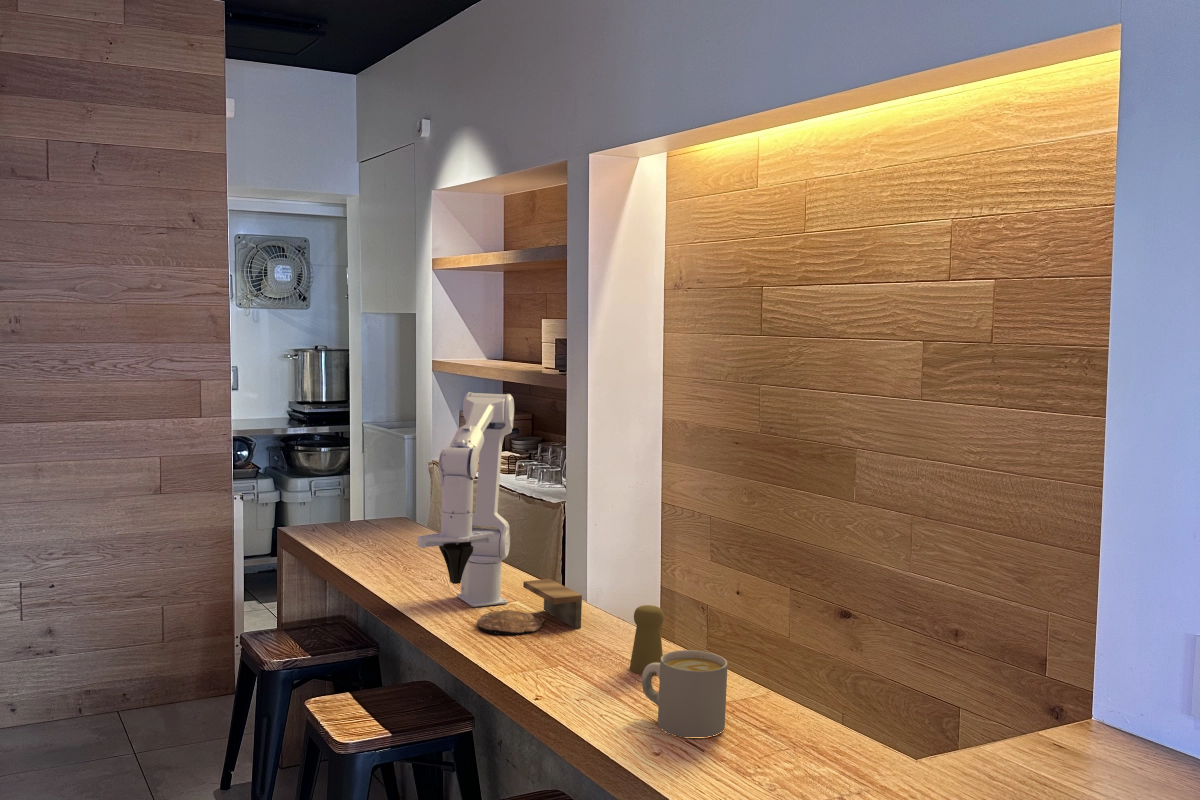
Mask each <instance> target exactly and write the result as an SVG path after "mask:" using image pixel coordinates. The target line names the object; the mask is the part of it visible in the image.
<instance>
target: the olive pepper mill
mask: <svg viewBox="0 0 1200 800" xmlns="http://www.w3.org/2000/svg"><path fill="white" fill-rule="evenodd" d="M633 613H634V614H633V621H634V623H635V625H636V628H635V635H634V640H633V645H632V652H631V656H630V663H629V669H628V670H629V671H630V672H632V673H634V674H638V675H641V676H642V675H643V671H644V669H645V667H646V666H647V665H649V664H651V663H660V660H661V657H662V656H663V655H664V653H663V642H662V633H661V632H662V630H661V626H662V625H663V623H664V619H665V614H664V611H663V609H662V608H660V607H659V606H656V605H650V604H649V605H647V604H646V605H640V606H638V607H636V608H635V610H634V612H633ZM654 674H656V675H657V673H653V674H652V676H654Z"/></svg>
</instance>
